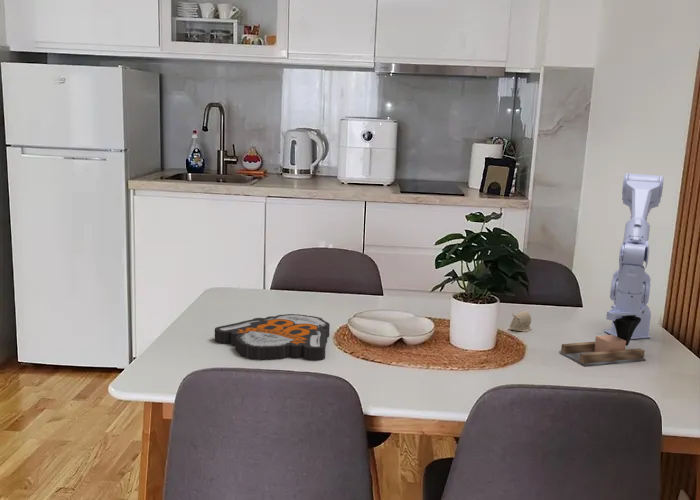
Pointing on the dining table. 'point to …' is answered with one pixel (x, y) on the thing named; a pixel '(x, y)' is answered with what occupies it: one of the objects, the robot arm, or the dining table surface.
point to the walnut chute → (599, 354)
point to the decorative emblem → (277, 337)
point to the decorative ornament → (521, 322)
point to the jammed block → (609, 343)
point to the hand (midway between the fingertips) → (623, 344)
